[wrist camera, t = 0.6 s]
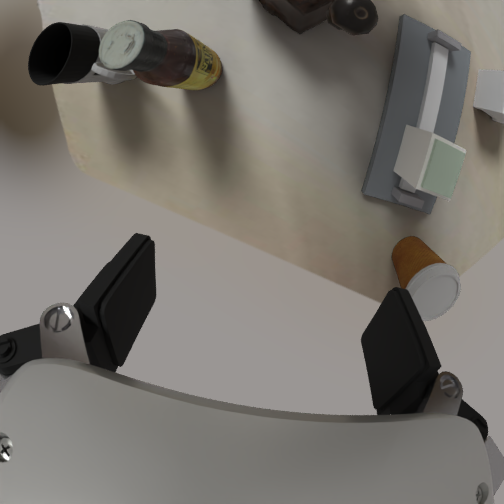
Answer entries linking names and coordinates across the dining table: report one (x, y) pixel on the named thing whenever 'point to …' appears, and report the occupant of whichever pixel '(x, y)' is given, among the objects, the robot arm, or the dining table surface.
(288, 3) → the pepper mill
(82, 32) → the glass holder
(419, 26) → the rail board
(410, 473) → the robot arm
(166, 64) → the sauce bottle
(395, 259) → the disposable coffee cup
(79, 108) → the dining table surface
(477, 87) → the module
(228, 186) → the dining table surface
